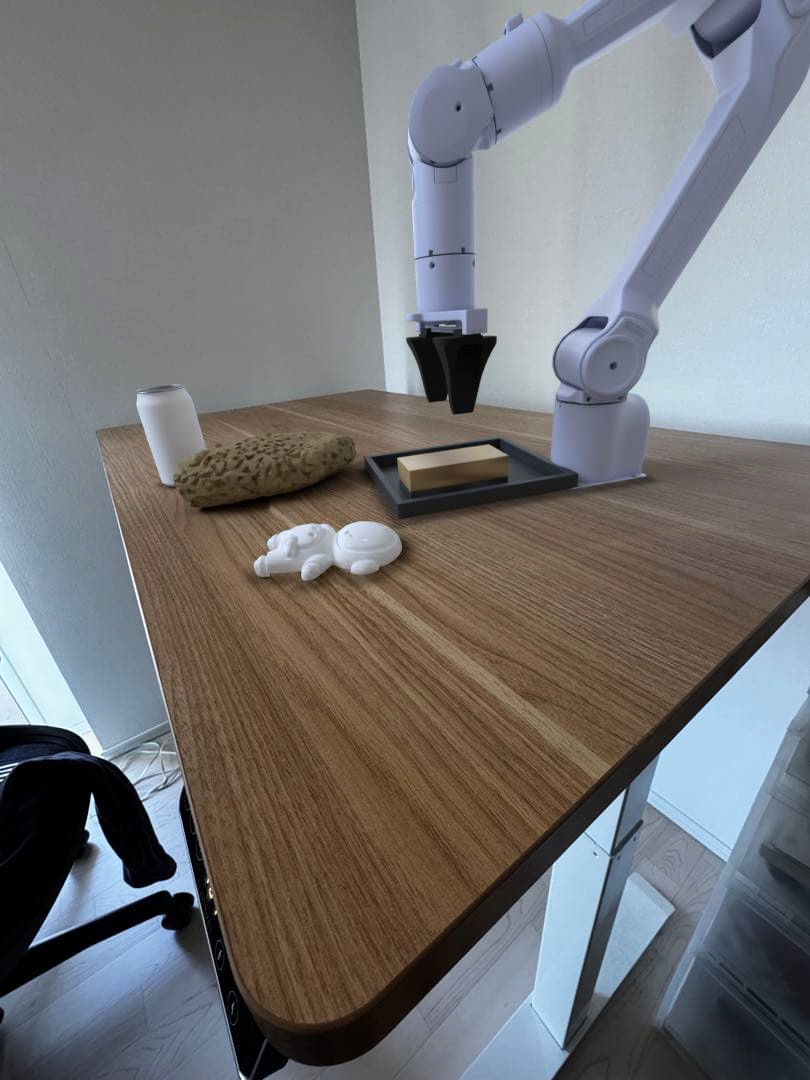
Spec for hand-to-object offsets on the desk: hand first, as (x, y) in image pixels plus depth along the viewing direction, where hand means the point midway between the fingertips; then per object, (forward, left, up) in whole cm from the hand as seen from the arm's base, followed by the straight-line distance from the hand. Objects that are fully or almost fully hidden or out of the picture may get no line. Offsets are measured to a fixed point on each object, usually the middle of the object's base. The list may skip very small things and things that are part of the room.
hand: (449, 406), depth 48 cm
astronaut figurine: (+16, +12, -9) cm, 22 cm away
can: (+32, -18, -9) cm, 37 cm away
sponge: (+20, -8, -9) cm, 23 cm away
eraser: (+1, +2, -8) cm, 9 cm away
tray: (-1, -1, -9) cm, 9 cm away
